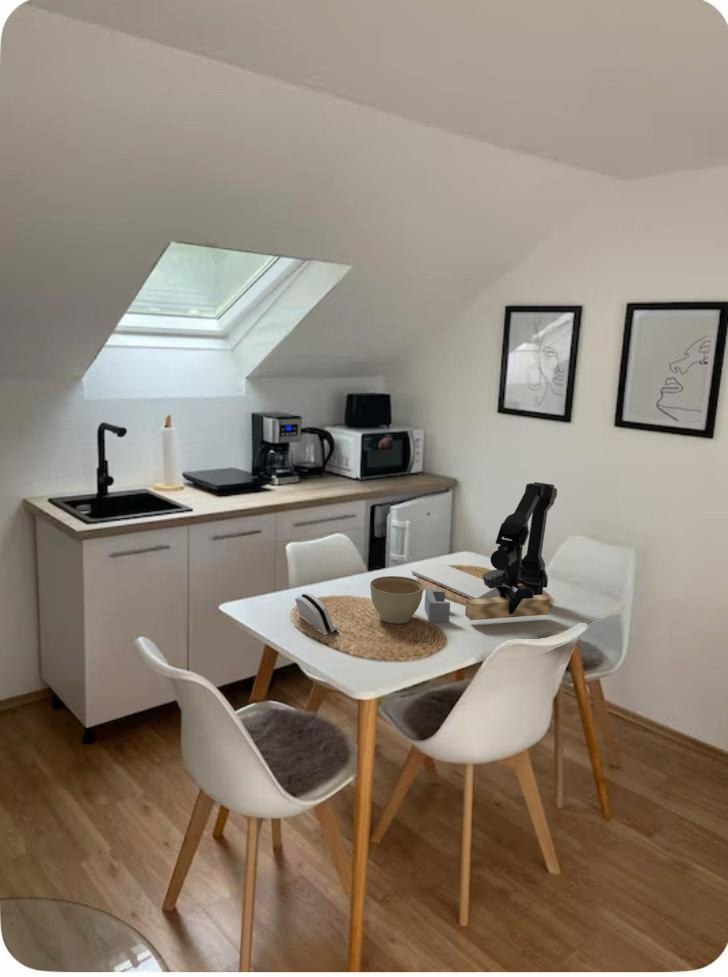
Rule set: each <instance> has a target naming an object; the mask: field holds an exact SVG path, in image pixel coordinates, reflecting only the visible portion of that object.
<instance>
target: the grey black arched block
mask: <svg viewBox="0 0 728 977" xmlns="http://www.w3.org/2000/svg"><path fill="white" fill-rule="evenodd" d="M295 603H296V607H297V610H298V613H299V616H300V615H301V616H302V617H304V618H305V619H306V620H307V621H309V622H310V623H311V624H312V625H313V626H315V627H316V628H317V629H318V630H320V631H321V632H322V633H327V634H328V633H329V632H331V633H333V632H334V631H335V630H336V631H339V632H340V630H339V627H338V626H337V625H335V624H334V623H333V621H332V619H331V616H330V614H329V611H328V609H327V607H326V606H325V604H323V603H322V601H321V600H319V598H317V597H316V596H314V594H311V593H309V592H306V593H305V592H304V593H302V594H301V595H297V597H295ZM302 617H301V618H302ZM307 621H306V622H307ZM313 626H312V627H313ZM318 630H317V631H318ZM336 631H335V632H336Z"/></svg>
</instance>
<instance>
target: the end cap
mask: <svg viewBox="0 0 728 977" xmlns="http://www.w3.org/2000/svg"><path fill="white" fill-rule="evenodd" d="M424 591H425V593H424V595H425V596H424V610H425V614H426V617H427V620H428V622H429V623H450V612H451V610H450V609H451V602H450V601H445V600H446V599H445V598H446V590H445V589H424Z"/></svg>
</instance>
